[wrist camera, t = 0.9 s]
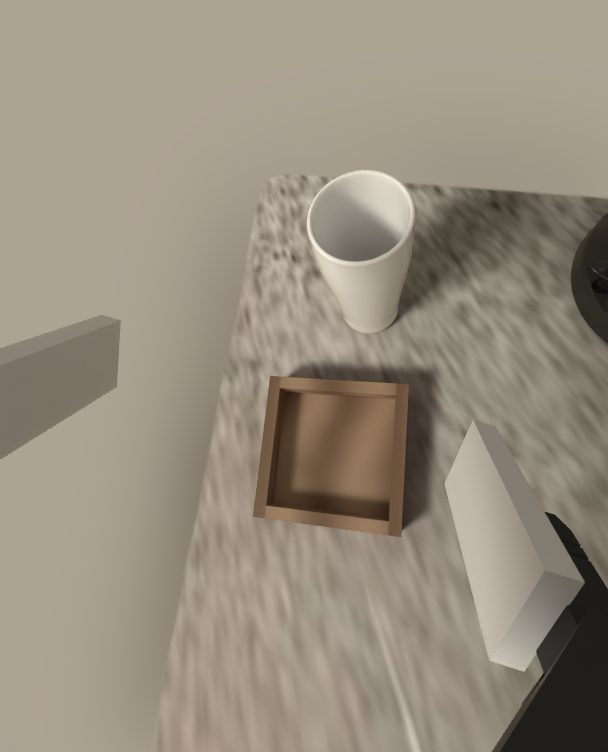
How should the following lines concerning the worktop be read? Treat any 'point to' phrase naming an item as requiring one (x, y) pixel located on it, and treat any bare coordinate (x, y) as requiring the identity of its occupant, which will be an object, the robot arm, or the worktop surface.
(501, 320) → the worktop surface
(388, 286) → the white tumbler cup
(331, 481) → the walnut tray
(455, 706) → the worktop surface
